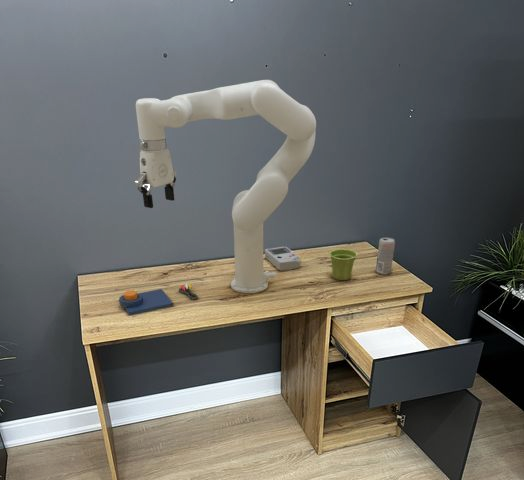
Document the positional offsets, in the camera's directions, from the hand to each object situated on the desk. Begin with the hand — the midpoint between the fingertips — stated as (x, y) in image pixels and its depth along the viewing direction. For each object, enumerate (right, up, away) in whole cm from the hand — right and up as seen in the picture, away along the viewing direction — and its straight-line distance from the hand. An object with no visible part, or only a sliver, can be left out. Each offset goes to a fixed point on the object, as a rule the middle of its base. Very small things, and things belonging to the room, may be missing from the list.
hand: (159, 203), depth 160 cm
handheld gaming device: (+40, -13, +32) cm, 53 cm away
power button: (-9, -30, +1) cm, 31 cm away
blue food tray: (-5, -31, +4) cm, 31 cm away
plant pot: (+60, -20, +21) cm, 66 cm away
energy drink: (+75, -18, +25) cm, 81 cm away
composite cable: (+7, -28, +9) cm, 30 cm away
